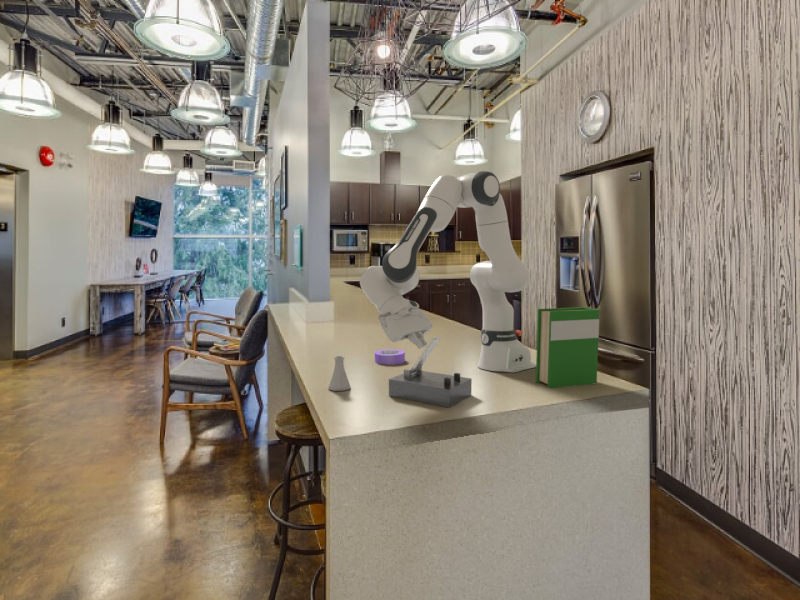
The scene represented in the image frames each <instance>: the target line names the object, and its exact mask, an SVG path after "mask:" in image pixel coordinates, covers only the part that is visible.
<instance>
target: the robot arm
mask: <svg viewBox="0 0 800 600" xmlns="http://www.w3.org/2000/svg"><path fill="white" fill-rule="evenodd" d="M461 208H464V209H465V208H472V209H473V210H474V213H475V223H476V224H475V225H476V231H477V232H476V233H477V240H478V241H477V242H478V245H479V248H480V249H481V250H482V251H483V252H484V253H485V254H486V256H487V258H488V259H489V260H485V261H479V262H477V263H475V264H473V266H472V267H471V268H470V271H469V272H470V273H469V280H470V282H471V284H472V285H473V286H474V287H475V289H476V291H477V293H478V296H479V299H480V303H481V308H482V328H481V333H480V338H481V348H480V354H479V359H478V362H477V368H479V369H482V370H485V371H491V372H505V373H518V372H522V371H525V370H530V369H532V368H536V362H535V361H533V360H532V357H531V351H530V349H529V348H528V347H527V346H526V345H525V344H523V343H522V342H521V341H519V340H518V337H517V336H519V337H521V336H522V335H523V332H522V330H519V329H516V330H515V329H514V316H515V315H514V314H515V313H514V312H515V311H514V307H513V305H512V303H510V302H509V301H508V298H507V296H506V293H517V292H521V291H524V290H525V289H526V288H527V287H529V285H530V281H531V271H530V269H529V267H528V266H527V265H526V264H525V263H524V262H522V260H521V259H520V258H519V256H518V255H517V252H516V250H515V249H514V246H513V244H512V239H511V232H510V227H509V220H508V213H507V210H506V209H507V208H506V205H505V201H504V198H503V195H502V194H501V185H500V182H499V179H498V177H497V176H496V174H494V173H493V172H491V171H488V170H486V171H485V170H484V171H483V170H482V171H478V172H477V171H476V172H471V173H466V174H463V175H460V176H457V177H455V176H453V175H451V174H442V175H440V176H439V177H437V178H436V179H435V181H434V182H433V183H432V185H431V186H430V187H429V189H428V191H427V192H426V194H425V195H424V197H423V199H422V201H421V203H420V205H419V207H418V210H417V211H416V213H415V215H414V216H413V218H412V219H411V221H410V222H409V224H408V226H407V228H406V229H405V231H404V233H403V234H402V236H401V237H400V239H399V240H398V242H397V243H395V245H394V246H393V247H391V248H390V249H389V250H388V251H387V252H386V253H385V254H384V256H383V258H382V262H381V265H378V266H377V265H371V266H369V267H368V268H367V269H365V270H364V272H362V274H361V275H360V279H359V285H360V288H361V290H362V292H363V293H364V295H365V296H366V298H367V299H368V301H369V302H370V304H372V305H374V306H375V308H376V310H377V312H378V314H379V315H378V321H379V323H380V327H381V329H382V330H383V333H384V334H385V335H386V337H387V339H388V340H389V341H390V342H392V343H397V342H400V341H404V340H409V342H411V343H413V345H415V346H416V347H417V348H418V349H423V348H426V347H427V345H428V342H427V341H426V340H425V336H424V335H426V334H428V332H430V331H431V330H432V328H433V323H432V321H431V319H429V317H428V316H427V315H426V314H425V313H424V311H423V310H421V309H420V304H419V303H417V302H416V301H415V300H414V301H413V300H410V299H408V298H404V295H406V294H407V293H409V292H412V291H413V290H414V289H415V288H416V287H417V286H418V285H419V282H420V274H419V268H418V264H417V257H418V253H419V250H420V249H421V247H422V246H423V244H424V242H425V240H426V239H427V236H428V235H429V234H430V232H432V233H438V232H441V231H444V230H445V229H446V228H447V227H448V225H449V223H450V222H451V221H452V218H453V217H454V215H455V213H456V210H457V209H461Z"/></svg>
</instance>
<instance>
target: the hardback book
mask: <svg viewBox="0 0 800 600" xmlns="http://www.w3.org/2000/svg"><path fill="white" fill-rule="evenodd" d="M600 311H601V310H600V309H596V308H591V307H586V306H585V307H583V306H580V307H578V306H577V307H559V308H558V307H557V308H556V307H555V308H554V307H552V308H537V326H536V327H537V328H536V329H537V330H536V331H537V332H536V334H537V335H536V339H537V340H536V360H535V361H536V362H535V363H536V367H535V383H538V384H539V383H544V384H546V385H547V388H548V389H552V388H553V389H554V388H563V387H564V386H566V387H573V385H576V386H584V385H583V384H587V385H593V384H592V383H598V382H597V379H598V361H599V359H598V358H599V356H598V355H599V338H600V337H599V334H600V313H601V312H600Z"/></svg>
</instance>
